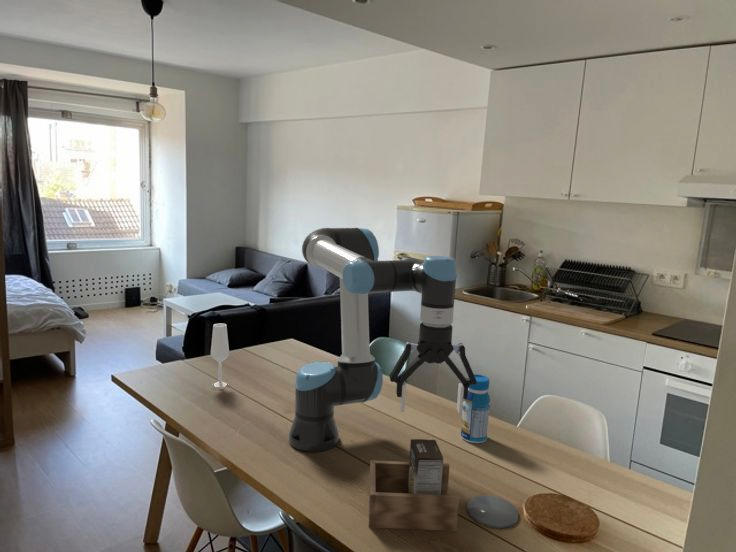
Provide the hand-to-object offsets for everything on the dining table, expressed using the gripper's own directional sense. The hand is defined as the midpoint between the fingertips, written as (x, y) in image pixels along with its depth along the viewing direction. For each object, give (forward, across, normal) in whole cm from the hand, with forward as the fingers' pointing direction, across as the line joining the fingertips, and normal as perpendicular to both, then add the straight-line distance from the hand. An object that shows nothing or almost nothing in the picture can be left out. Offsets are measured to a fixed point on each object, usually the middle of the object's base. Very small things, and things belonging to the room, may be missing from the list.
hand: (430, 410), depth 124 cm
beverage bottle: (+25, +20, +38) cm, 49 cm away
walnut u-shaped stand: (+25, -4, -1) cm, 25 cm away
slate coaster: (+25, +16, -1) cm, 30 cm away
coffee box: (+25, -1, -1) cm, 25 cm away
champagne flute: (+25, -69, +74) cm, 104 cm away
